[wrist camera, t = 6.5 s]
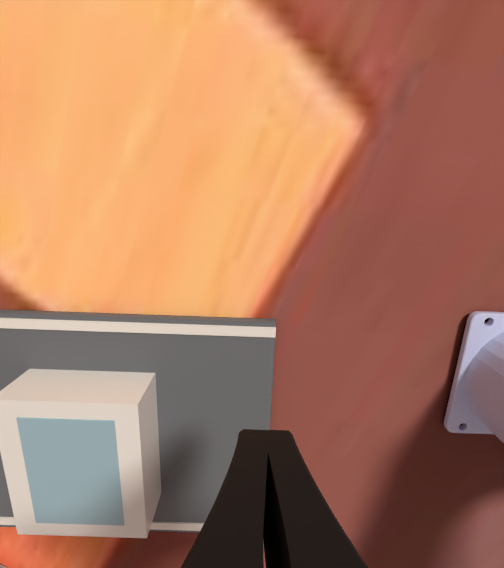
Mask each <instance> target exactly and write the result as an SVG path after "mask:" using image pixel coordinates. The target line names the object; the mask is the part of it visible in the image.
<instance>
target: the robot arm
mask: <svg viewBox="0 0 504 568" xmlns="http://www.w3.org/2000/svg"><path fill="white" fill-rule="evenodd" d="M487 318H489V320H488V322H487V323H485V324H484V321H485V320H486V319H487ZM460 424H462V425H461V426H459V425H460ZM444 427H445V428H446V429H447V430H448V431H449V432H451V433H471V434H494V435H495V436H496V437H497V438H499V439H500V440H501V441H502V442H503V443H504V312H483V311H477V312H473V313H471V314H470V315H469V316H468V319H467V323H466V327H465V331H464V336H463V340H462V345H461V349H460V353H459V358H458V362H457V367H456V371H455V375H454V380H453V384H452V389H451V393H450V397H449V402H448V406H447V411H446V415H445V419H444ZM263 540H264V551H265V561H266V568H368V567H367V565H366V564H365V562H364V561H363V559H362V558H361V556H360V555H359V553H358V552H357V551H356V549H355V547H354V546H353V544H352V543H351V541H350V540H349V538H348V537H347V535H346V534H345V532H344V530H343V529H342V527H341V526H340V524H339V522H338V521H337V519H336V518H335V516H334V514H333V513H332V511H331V509H330V508H329V506H328V504H327V502H326V501H325V499H324V497H323V495H322V494H321V492H320V490H319V488H318V487H317V485H316V483H315V481H314V479H313V478H312V476H311V474H310V472H309V470H308V468H307V466H306V464H305V462H304V460H303V458H302V456H301V454H300V452H299V449H298V447H297V445H296V443H295V440H294V438H293V435H292V434H291V433H290V432H289V431H284V430H253V429H243V430H242V431H240V432H239V435H238V441H237V445H236V448H235V452H234V455H233V458H232V461H231V463H230V466H229V469H228V472H227V474H226V477H225V479H224V481H223V484H222V486H221V488H220V491H219V493H218V496H217V498H216V500H215V502H214V504H213V507H212V509H211V511H210V513H209V515H208V517H207V519H206V521H205V523H204V525H203V527H202V529H201V531H200V533H199V535H198V537H197V539H196V541H195V543H194V545H193V546H192V548H191V550H190V552H189V554H188V556H187V557H186V559H185V561H184V563H183V565H182V566H181V568H264V567H263Z"/></svg>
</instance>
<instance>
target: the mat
mask: <svg viewBox="0 0 504 568" xmlns="http://www.w3.org/2000/svg"><path fill="white" fill-rule="evenodd" d="M275 335H276V319H257V318H228V317H199V316H170V315H142V314H113V313H84V312H55V311H26V310H0V391H1V390H2V389H4V388H5V387H6V386H8V385H9V384H10V383H12V382H13V381H14V380H15V379H17V378H18V377H19V376H21V375H22V374H23V373H25V372H26V371H27V370H29V369H55V370H84V371H114V372H144V373H155V375H156V394H157V414H158V434H159V454H160V474H161V495H160V498H159V501H158V505H157V508H156V511H155V514H154V517H153V521H152V524H151V527H150V530H149V531H158V532H190V533H200V531H201V529H202V527H203V525H204V523H205V521H206V519H207V517H208V515H209V513H210V511H211V509H212V507H213V504H214V502H215V500H216V498H217V496H218V493H219V491H220V488H221V486H222V484H223V481H224V479H225V477H226V474H227V472H228V469H229V466H230V463H231V461H232V458H233V455H234V452H235V448H236V445H237V441H238V435H239V432H240V431H242V430H243V429H253V430H270V417H271V400H272V383H273V366H274V349H275ZM0 527H16V524H15V520H14V515H13V510H12V505H11V500H10V496H9V491H8V486H7V481H6V477H5V472H4V467H3V462H2V458H1V453H0Z"/></svg>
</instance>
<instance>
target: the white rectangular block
mask: <svg viewBox="0 0 504 568" xmlns="http://www.w3.org/2000/svg"><path fill="white" fill-rule="evenodd" d="M0 453H1V458H2V462H3V467H4V472H5V477H6V481H7V486H8V491H9V496H10V500H11V505H12V510H13V515H14V520H15V524H16V529H17V534H25V535H57V536H89V537H121V538H147V537H148V533H149V530H150V527H151V524H152V521H153V517H154V514H155V511H156V508H157V505H158V501H159V498H160V495H161V474H160V454H159V434H158V414H157V394H156V375H155V373H144V372H114V371H84V370H55V369H29V370H27V371H26V372H25V373H23V374H22V375H21V376H19V377H18V378H17V379H15V380H14V381H13V382H12V383H10V384H9V385H8V386H6V387H5V388H4V389H2V390H1V391H0Z"/></svg>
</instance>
